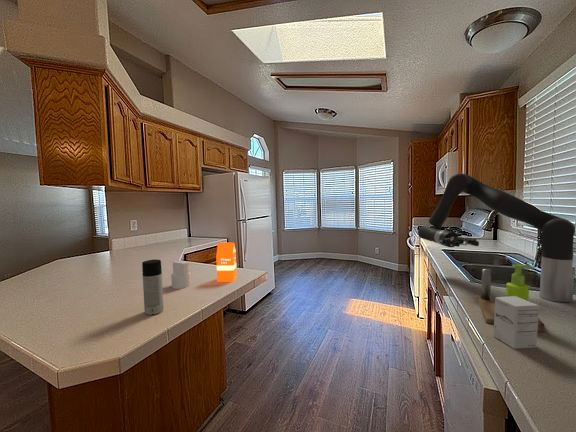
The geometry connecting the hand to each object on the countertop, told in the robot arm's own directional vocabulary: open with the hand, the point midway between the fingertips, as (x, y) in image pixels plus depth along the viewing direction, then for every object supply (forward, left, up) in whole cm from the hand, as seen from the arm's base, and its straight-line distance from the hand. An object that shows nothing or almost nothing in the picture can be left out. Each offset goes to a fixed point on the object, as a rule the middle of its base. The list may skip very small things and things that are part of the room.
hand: (468, 244), depth 121 cm
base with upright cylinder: (-11, +18, -22) cm, 30 cm away
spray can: (+108, +76, -22) cm, 134 cm away
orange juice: (+110, +31, -22) cm, 117 cm away
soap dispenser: (-13, +26, -22) cm, 36 cm away
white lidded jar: (+124, +49, -22) cm, 135 cm away
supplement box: (-9, +42, -22) cm, 48 cm away
